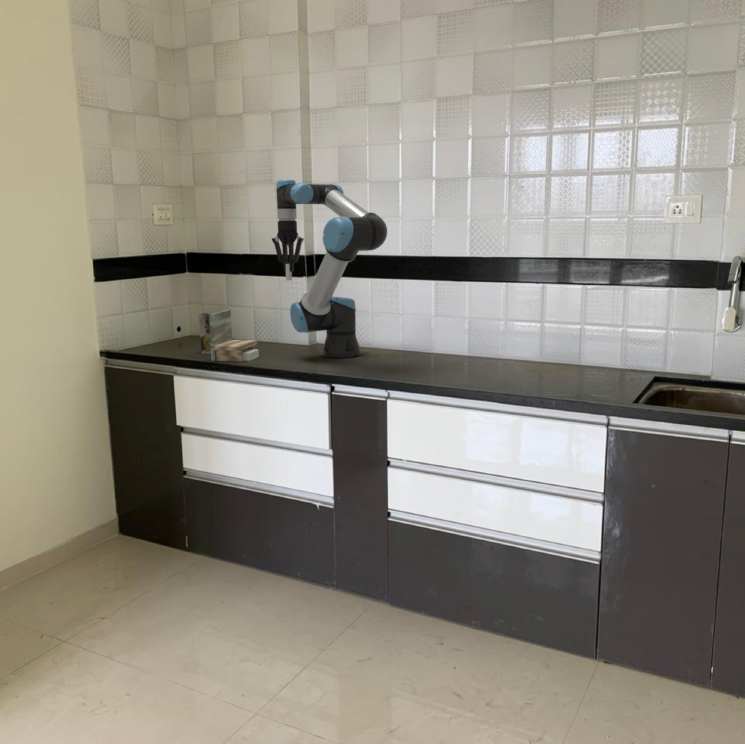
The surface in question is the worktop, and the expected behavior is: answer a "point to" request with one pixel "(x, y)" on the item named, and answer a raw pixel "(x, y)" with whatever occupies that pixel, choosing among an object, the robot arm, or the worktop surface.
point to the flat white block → (250, 354)
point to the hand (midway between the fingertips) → (289, 280)
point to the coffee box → (205, 333)
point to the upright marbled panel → (226, 339)
